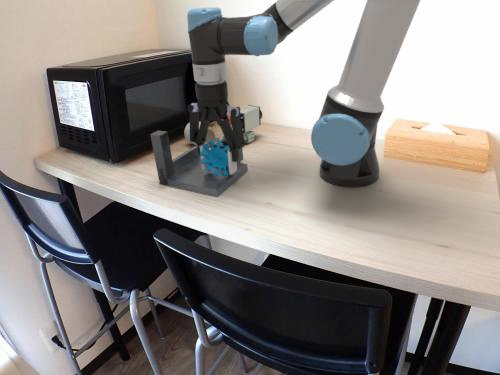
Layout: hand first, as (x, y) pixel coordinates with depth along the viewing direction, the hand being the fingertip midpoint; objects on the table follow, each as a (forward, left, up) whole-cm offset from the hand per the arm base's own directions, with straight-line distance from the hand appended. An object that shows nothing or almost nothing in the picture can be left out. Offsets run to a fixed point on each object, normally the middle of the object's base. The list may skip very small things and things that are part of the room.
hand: (219, 169), depth 97 cm
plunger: (+4, -11, +1) cm, 12 cm away
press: (+5, -3, -3) cm, 7 cm away
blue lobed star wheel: (0, 0, -1) cm, 1 cm away
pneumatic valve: (+7, -28, -3) cm, 29 cm away
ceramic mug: (+19, -21, -4) cm, 29 cm away
